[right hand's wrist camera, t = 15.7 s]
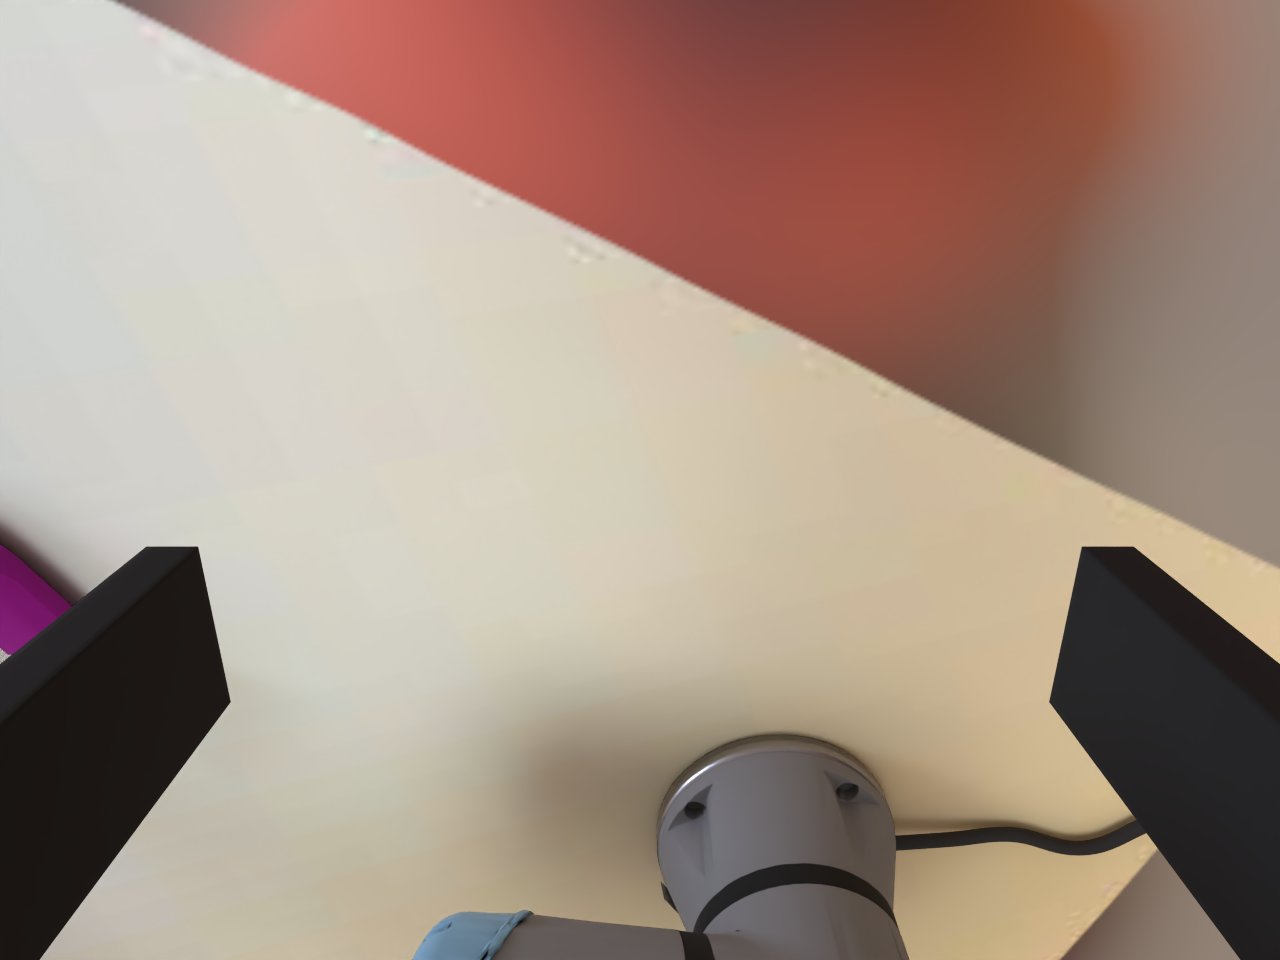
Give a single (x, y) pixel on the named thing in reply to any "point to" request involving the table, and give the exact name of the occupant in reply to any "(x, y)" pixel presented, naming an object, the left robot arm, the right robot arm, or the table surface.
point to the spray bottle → (24, 603)
